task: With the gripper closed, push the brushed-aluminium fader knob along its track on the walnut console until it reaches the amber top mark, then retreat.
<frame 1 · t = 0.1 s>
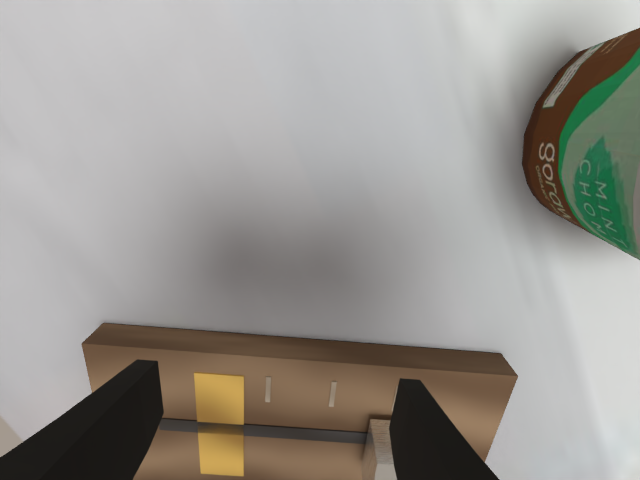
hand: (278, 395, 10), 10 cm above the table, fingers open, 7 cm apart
fader console: (299, 407, 23), on the table
food container: (562, 170, 17), on the table
fader knob: (392, 467, 20), point 4 cm above the table, slide at 0.0 cm
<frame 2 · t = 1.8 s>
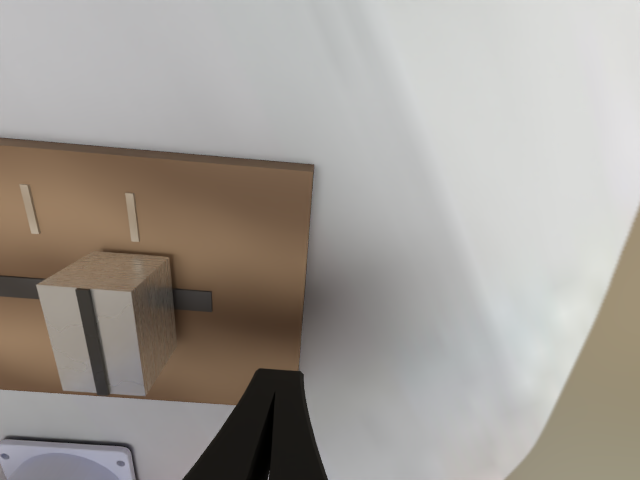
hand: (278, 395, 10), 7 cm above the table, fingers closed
fader console: (41, 265, 16), on the table
fader knob: (117, 321, 12), point 4 cm above the table, slide at 0.0 cm
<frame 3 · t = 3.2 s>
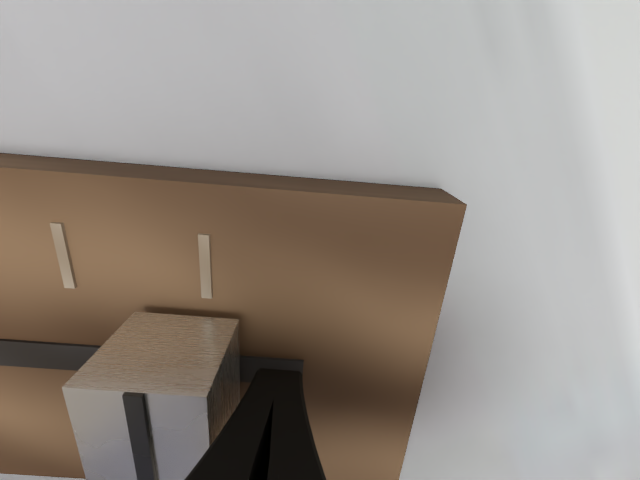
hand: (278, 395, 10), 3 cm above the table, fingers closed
fader console: (70, 316, 12), on the table
fader knob: (171, 414, 9), point 4 cm above the table, slide at 0.5 cm, touching gripper
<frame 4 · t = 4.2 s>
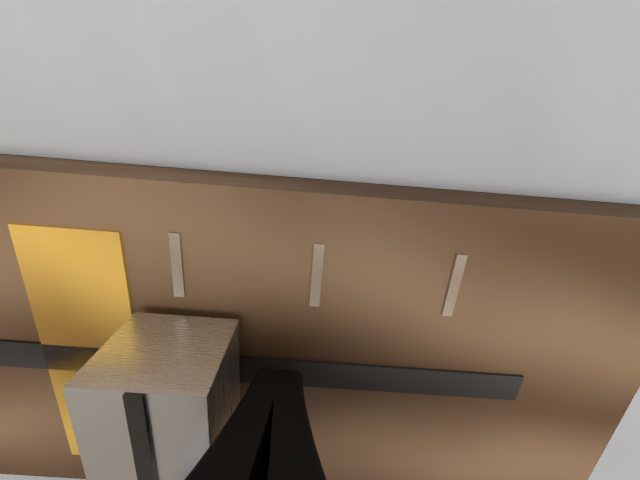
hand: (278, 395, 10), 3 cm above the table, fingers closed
fader console: (259, 330, 13), on the table
fader knob: (171, 414, 9), point 4 cm above the table, slide at 7.7 cm, touching gripper
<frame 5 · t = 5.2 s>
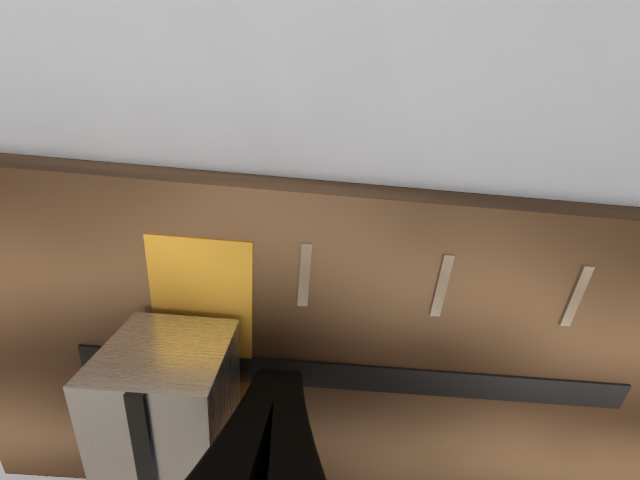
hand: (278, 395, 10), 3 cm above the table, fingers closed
fader console: (352, 337, 13), on the table
fader knob: (171, 414, 9), point 4 cm above the table, slide at 11.3 cm, touching gripper
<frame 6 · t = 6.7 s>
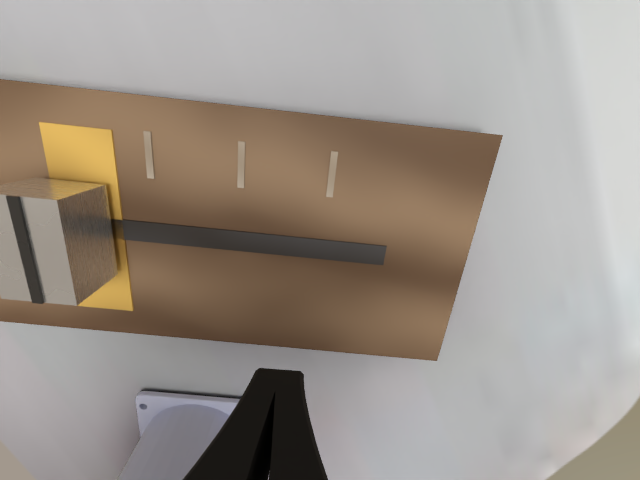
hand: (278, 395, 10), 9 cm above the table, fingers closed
fader console: (211, 223, 17), on the table
fader knob: (54, 239, 14), point 4 cm above the table, slide at 11.3 cm
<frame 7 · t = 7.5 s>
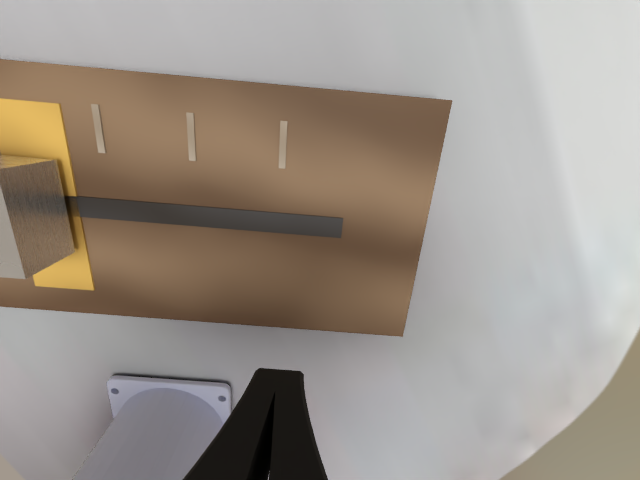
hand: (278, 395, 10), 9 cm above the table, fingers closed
fader console: (172, 202, 17), on the table
fader knob: (4, 214, 14), point 4 cm above the table, slide at 11.3 cm
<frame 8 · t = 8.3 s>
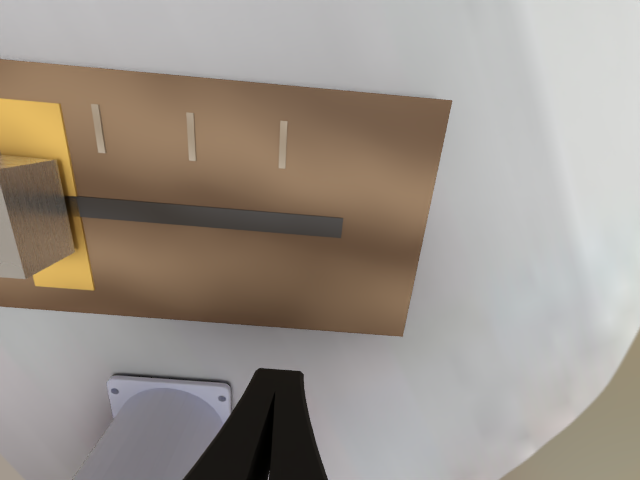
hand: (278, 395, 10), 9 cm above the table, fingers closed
fader console: (172, 202, 17), on the table
fader knob: (4, 214, 14), point 4 cm above the table, slide at 11.3 cm
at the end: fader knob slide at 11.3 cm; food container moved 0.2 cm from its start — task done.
